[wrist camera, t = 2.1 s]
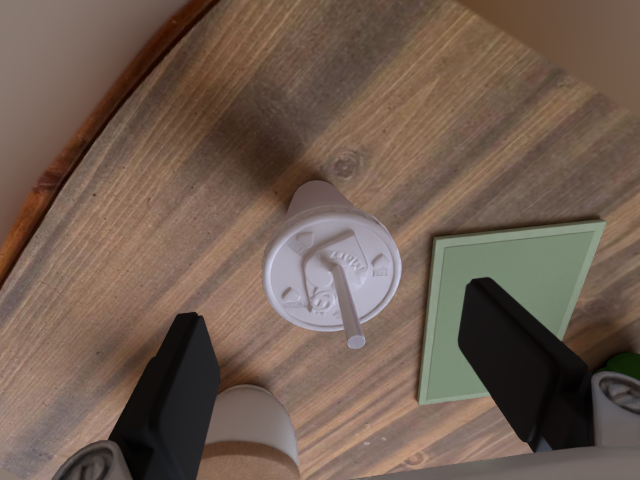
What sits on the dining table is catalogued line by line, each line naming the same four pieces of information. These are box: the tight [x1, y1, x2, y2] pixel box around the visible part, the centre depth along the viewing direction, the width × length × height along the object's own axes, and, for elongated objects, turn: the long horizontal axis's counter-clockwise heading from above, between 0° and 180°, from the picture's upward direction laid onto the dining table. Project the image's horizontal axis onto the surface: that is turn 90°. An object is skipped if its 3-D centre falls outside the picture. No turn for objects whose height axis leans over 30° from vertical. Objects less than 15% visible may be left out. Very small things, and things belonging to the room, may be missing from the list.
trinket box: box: [196, 384, 300, 480], centre depth 27 cm, size 11×11×9 cm
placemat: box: [417, 219, 607, 405], centre depth 29 cm, size 20×14×1 cm
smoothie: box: [262, 180, 401, 349], centre depth 16 cm, size 6×6×14 cm
